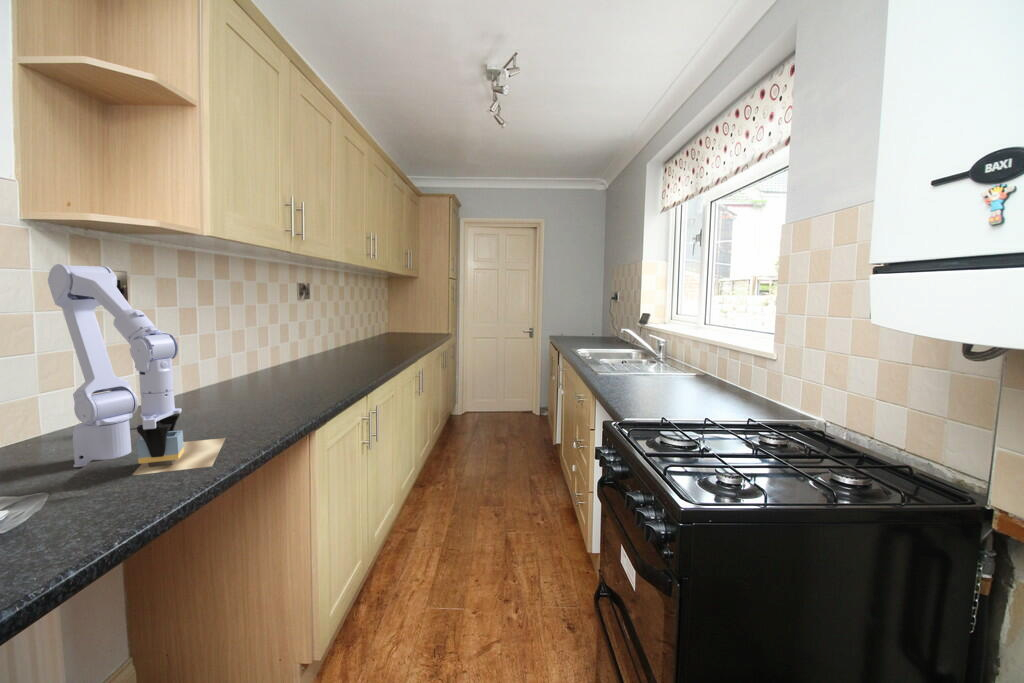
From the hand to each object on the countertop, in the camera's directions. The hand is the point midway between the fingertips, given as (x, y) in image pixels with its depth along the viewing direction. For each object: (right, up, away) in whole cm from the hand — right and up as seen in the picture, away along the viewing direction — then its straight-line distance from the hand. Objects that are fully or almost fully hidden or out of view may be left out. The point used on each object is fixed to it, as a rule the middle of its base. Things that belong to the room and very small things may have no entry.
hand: (161, 452), depth 101 cm
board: (+1, -3, +6) cm, 7 cm away
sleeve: (0, -1, 0) cm, 1 cm away
